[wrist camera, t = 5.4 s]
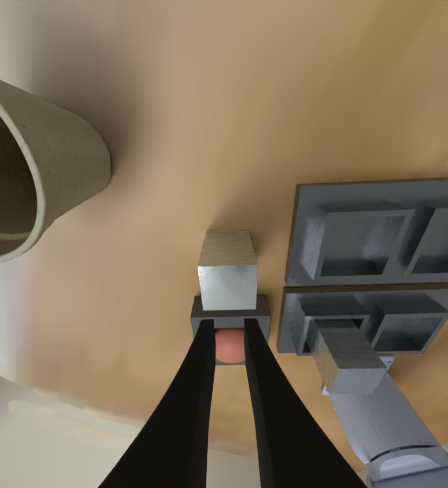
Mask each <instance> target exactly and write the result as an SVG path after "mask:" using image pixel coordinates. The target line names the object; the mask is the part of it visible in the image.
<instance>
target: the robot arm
mask: <svg viewBox="0 0 448 488" xmlns="http://www.w3.org/2000/svg"><path fill="white" fill-rule="evenodd" d="M244 351H245V364H246V371H247V377H248V383H249V389H250V395H251V401H252V407H253V414H254V421H255V428H256V439H257V449H258V460H259V471H260V482H261V488H448V453H447V452H446V451H445V450H444V449H443V448H442V447H441V445H440V444H439V442H438V441H437V440H436V438H435V437H434V435H433V434H432V433H431V431H430V430H429V429H428V427H427V426H426V424H425V423H424V422H423V420H422V419H421V418H420V416H419V415H418V413H417V412H416V411H415V409H414V408H413V407H412V405H411V404H410V402H409V401H408V400H407V398H406V397H405V395H404V394H403V393H402V391H401V390H400V389H399V387H398V386H397V384H396V383H395V382H394V380H393V379H392V378H391V376H390V375H389V373H388V372H387V371H388V369H389V368H390V366H391V364H392V363H393V361H394V359H395V358H394V357H393V355H378V356H379V357H380V359H381V360H382V362H383V363H384V364H385V366H386V367H387V368H388V369H387V370H386V372H385V374H384V375H383V377H382V379H381V380H380V382H379V384H378V386H377V387H376V389H375V391H374V392H373V394H329V393H328V391H327V389H326V386H325V384H324V386H323V389H322V394H323V395H329V396H330V398H331V401H332V403H333V406H334V408H335V410H336V413H337V415H338V418H339V420H340V422H341V425H342V427H343V429H344V432H345V434H346V437H347V439H348V441H349V443H350V445H351V447H352V449H353V451H354V452H355V453H356V455H357V456H358V457H359V458H360V460H361V461H362V462H363V463H364V464H365V465H366V468H367V470H368V472H369V474H370V475H368V476H367V477H366V485H365V484H364V482H363V481H362V480H361V479H360V478H359V476H358V475H357V474H356V473H355V471H354V470H353V469H352V468H351V466H350V465H349V464H348V463H347V462H346V460H345V459H344V458H343V457H342V455H341V454H340V453H339V451H338V450H337V449H336V448H335V446H334V445H333V444H332V442H331V441H330V440H329V438H328V437H327V436H326V434H325V433H324V432H323V430H322V429H321V428H320V426H319V425H318V424H317V422H316V421H315V420H314V418H313V417H312V415H311V414H310V413H309V411H308V410H307V408H306V407H305V406H304V404H303V403H302V401H301V400H300V398H299V397H298V395H297V394H296V392H295V391H294V389H293V387H292V386H291V384H290V383H289V381H288V379H287V378H286V376H285V374H284V373H283V371H282V369H281V368H280V366H279V364H278V363H277V361H276V359H275V357H274V355H273V353H272V351H271V350H270V348H269V346H268V344H267V342H266V339H265V337H264V335H263V333H262V331H261V328H260V326H259V323H258V320H257V319H256V318H244ZM215 364H216V338H215V328H214V319H202V320H201V321H200V324H199V327H198V330H197V333H196V335H195V337H194V340H193V342H192V344H191V346H190V349H189V351H188V353H187V355H186V357H185V359H184V361H183V363H182V365H181V367H180V368H179V370H178V372H177V374H176V376H175V378H174V379H173V381H172V383H171V385H170V386H169V388H168V390H167V391H166V393H165V395H164V396H163V398H162V400H161V401H160V403H159V404H158V406H157V407H156V409H155V410H154V412H153V413H152V415H151V416H150V418H149V420H148V421H147V423H146V424H145V425H144V427H143V428H142V430H141V431H140V433H139V434H138V435H137V437H136V438H135V440H134V441H133V442H132V444H131V445H130V446H129V448H128V449H127V450H126V452H125V453H124V455H123V456H122V457H121V459H120V460H119V461H118V463H117V464H116V466H115V467H114V468H113V469H112V471H111V472H110V473H109V474H108V476H107V477H106V478H105V480H104V481H103V482H102V483H101V485H100V486H99V487H98V488H206V472H207V449H208V429H209V417H210V408H211V400H212V391H213V382H214V374H215Z"/></svg>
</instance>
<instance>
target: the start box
mask: <svg viewBox="0 0 448 488" xmlns="http://www.w3.org/2000/svg"><path fill="white" fill-rule="evenodd" d="M270 317H271V315H270V312H269V308H268V304H267V300H266V297H265V295H256V309H243V310H203V304H202V297H195V298H194V303H193V308H192V312H191V317H190V319H191V324H192V330H193V336H194V337H195V335H196V333H197V330H198V327H199V324H200V321H201V320H202V319H214V328H244V318H256V319H257V320H258V323H259V326H260V328H261V331H262V333H263V335H264V337H265V339H266V342H267V344H268V338H269V327H270ZM215 365H246V364H245V360H244V361H242V362H238V363H225V362H221V361H219V360H218V359H216V364H215Z"/></svg>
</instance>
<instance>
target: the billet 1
mask: <svg viewBox="0 0 448 488" xmlns="http://www.w3.org/2000/svg"><path fill="white" fill-rule="evenodd" d="M257 271H258V264H257V260H256V256H255V253H254V249H253V245H252V242H251V238H250V234H249V231H248V230H234V231H207V232H206V234H205V238H204V243H203V247H202V251H201V255H200V259H199V263H198V273H199V281H200V289H201V297H202V304H203V310H243V309H256V294H257Z"/></svg>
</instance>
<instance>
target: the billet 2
mask: <svg viewBox="0 0 448 488" xmlns="http://www.w3.org/2000/svg"><path fill="white" fill-rule="evenodd" d="M306 341H307V343H308V346H309V348H310V350H311V353H312V355H313V358H314V360H315V362H316V365H317V367H318V369H319V372H320V374H321V377H322V379H323V381H324V384H325V386H326V389H327V391H328V393H329V394H373V392H374V391H375V389H376V387H377V386H378V384H379V382H380V380H381V379H382V377H383V375H384V374H385V372H386V370H387V369H388V368H387V367H386V366H385V364H384V363H383V362H382V360H381V359H380V357H379V356H378V355H377V353H376V352H375V351H374V349H373V348H372V347H371V345H370V344H369V343H368V341H367V340H366V338H365V337H364V336H363V334H362V333H361V332H360V330H359V329H358V328H357V326H356V325H355V324H354V322H353V321H352V319H316V320H310V321H309V326H308V330H307V335H306Z"/></svg>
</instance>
